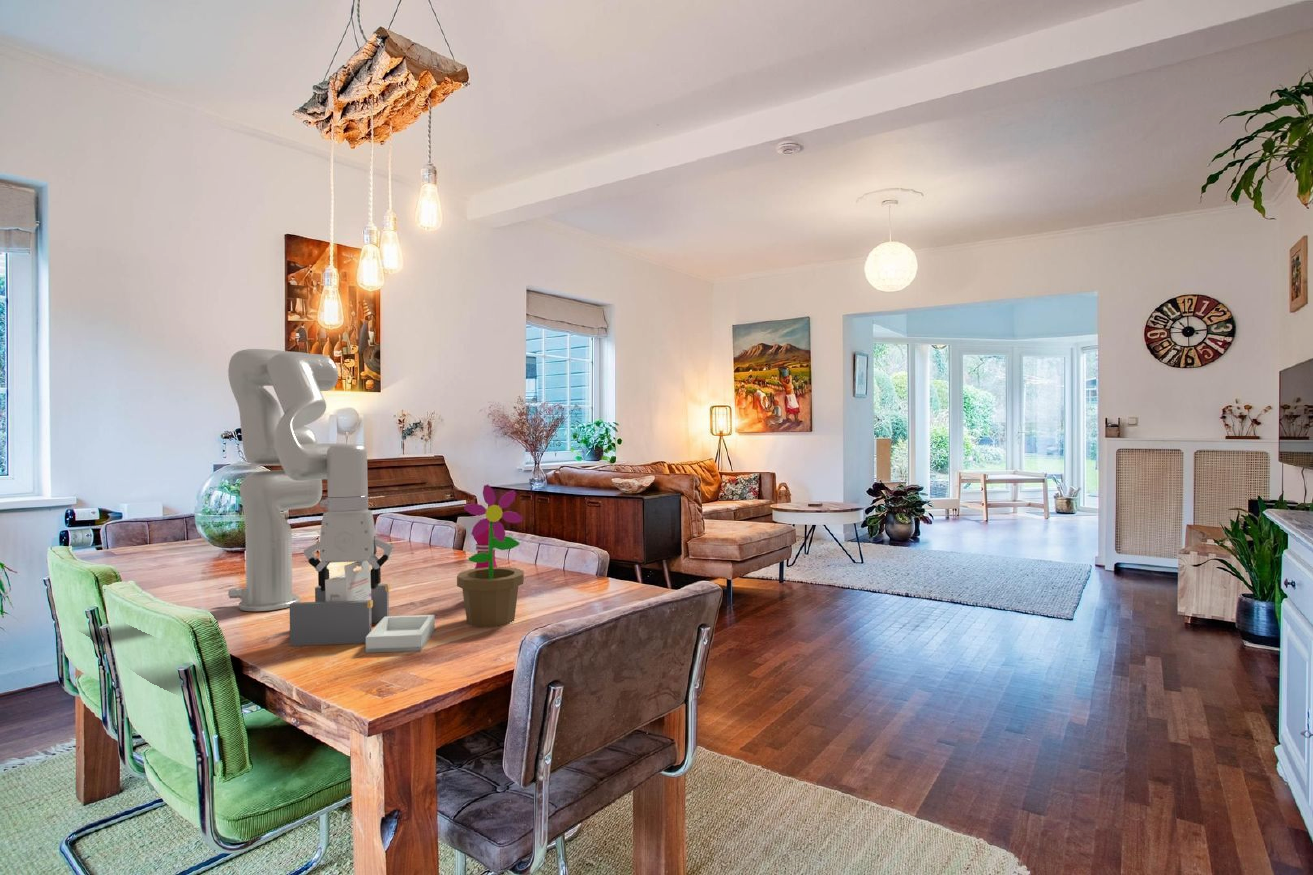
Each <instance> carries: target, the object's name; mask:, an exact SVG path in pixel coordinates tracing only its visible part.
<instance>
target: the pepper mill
mask: <svg viewBox="0 0 1313 875" xmlns="http://www.w3.org/2000/svg"><path fill="white" fill-rule="evenodd" d="M485 518H486V516H484V517H483V518H482V519H485ZM489 526H490V523H489ZM489 526H488V528H487V529H486V530H485V531H484V532H483V533H482V534H481V535H478V536H476V537H474V536H473V539H474V541H475V542H476V544H475V551H477V552H476V554H477V553H482V552H483V553H489ZM493 538H495V536H494V532H493ZM496 550H498V549H497V548H494V547H493V567H498V564H497V562H496V556H495V555H496ZM485 567H489V560H488V561H486V562H483V563H476V565H475V567H474V569H477V568H485Z"/></svg>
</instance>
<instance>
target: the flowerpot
mask: <svg viewBox="0 0 1313 875" xmlns="http://www.w3.org/2000/svg"><path fill="white" fill-rule="evenodd" d="M495 495H496V494H495V490H494V489H493V488H492V487H491V486H490V485H489V484H484V485H483V489H482V498H483V499H484V503H486V504H487V505H488V506H487V508H486V507H484V506H483V505H482V504H479V503H473V502H472V503H468V504H465V505H464V508H463V510H464V511H466V512H467V513H469V514H470V515H473V516H474V515H475V516H484V515H485V517H486V518H485V517H484V518H485V519H483V518H482V519H480V520H478V521H477V522H476V523H475V524H474V525H473V527H472V531H471V532H470V534H471V535H472V537H473V538H474V537H476V536H478V535H481V534H482V533H483V532H484V531H485V530H486V529H487V528H488V526H489V524H490V526H489V553H483V552H482V553H477V552H476V553H475V554H473V555H471V556H469V557H468V561H469V562H473V563H476V564H477V563H483V562H486V561H488V560H489V567H485V568H477V569H475V568H471V569H468V570H464V571H461V572H459V573H458V574H457V576H456V587H458V588H460V589H462V596H463V604H464V611H465V617H466V618H465V619H466V624H468V625H470V626H471V625H472V626H471V627H476V626H477V627H478V628H497V627H502V626H501V625H503V626H507V625H509V624H511V623H510V622H512V621H514V622H515V619H516V618H515V617H516V612H517V610H516V609H517V600H518V594H519V586H522V585H524V582H525V580H524V579H525V577H524V576H525V574H524V573H525V572H524V571H525V570H523V569H519V568H516V567H509V566H507V567H505V566H497V567H493V547H494V548H497V549H496V550H501V551H506V550H512V549H514V548H515V547H518V546H520V542H519V541H518V540H517V539H515V538H514V537H512V536H508V535H506V530H505V527H504V526H505V525H503V523H501V521H500V519H503V520H504V521H505V522H508V523H511V524H517V523H520V522H523V519H524V517H523V516H522V515H521V514H519V513H518V512H515V511H510V510H507V511H504V512H503V510H502V509H505V508H506V509H507V508H508V507H509V506H510V505H511V504H512V503H513V502H514V501H515V498H516V495H517V492H516V491H515V490H514V489H513V490H510V491H508V492H506V493H505V494H503V495H502V496H501V497H500V499H499V501H498V504H495V503H496V499H497V498H496V496H495ZM493 532H494V536H495V538H493ZM512 623H513V622H512ZM496 626H497V627H496Z"/></svg>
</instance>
